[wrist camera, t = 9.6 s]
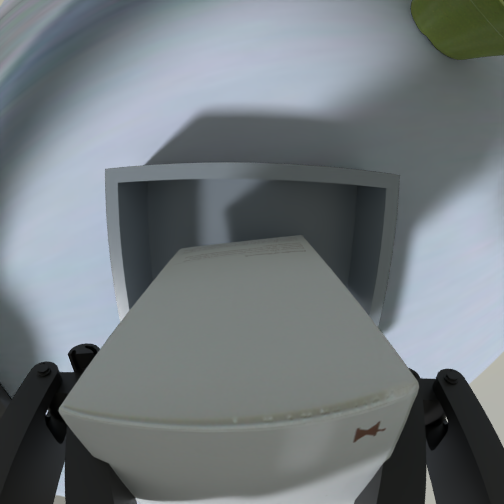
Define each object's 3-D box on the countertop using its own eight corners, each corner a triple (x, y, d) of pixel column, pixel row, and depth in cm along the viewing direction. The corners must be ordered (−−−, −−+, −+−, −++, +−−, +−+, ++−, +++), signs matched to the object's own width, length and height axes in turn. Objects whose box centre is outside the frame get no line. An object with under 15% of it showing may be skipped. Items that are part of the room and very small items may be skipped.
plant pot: (433, 93, 16) (534, 62, 5) (362, -18, 13) (412, -91, 2) (499, 79, 14) (573, 64, 3) (443, -14, 12) (497, -54, 1)
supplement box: (176, 245, 16) (43, 400, 4) (304, 232, 16) (438, 380, 4) (198, 351, 18) (158, 526, 6) (308, 341, 18) (364, 515, 6)
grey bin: (157, 360, 22) (140, 398, 17) (139, 169, 18) (105, 168, 13) (339, 364, 22) (355, 403, 17) (364, 174, 18) (399, 175, 13)
